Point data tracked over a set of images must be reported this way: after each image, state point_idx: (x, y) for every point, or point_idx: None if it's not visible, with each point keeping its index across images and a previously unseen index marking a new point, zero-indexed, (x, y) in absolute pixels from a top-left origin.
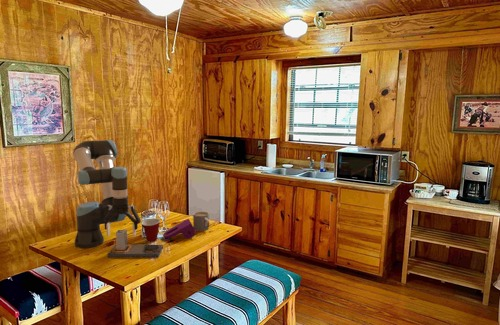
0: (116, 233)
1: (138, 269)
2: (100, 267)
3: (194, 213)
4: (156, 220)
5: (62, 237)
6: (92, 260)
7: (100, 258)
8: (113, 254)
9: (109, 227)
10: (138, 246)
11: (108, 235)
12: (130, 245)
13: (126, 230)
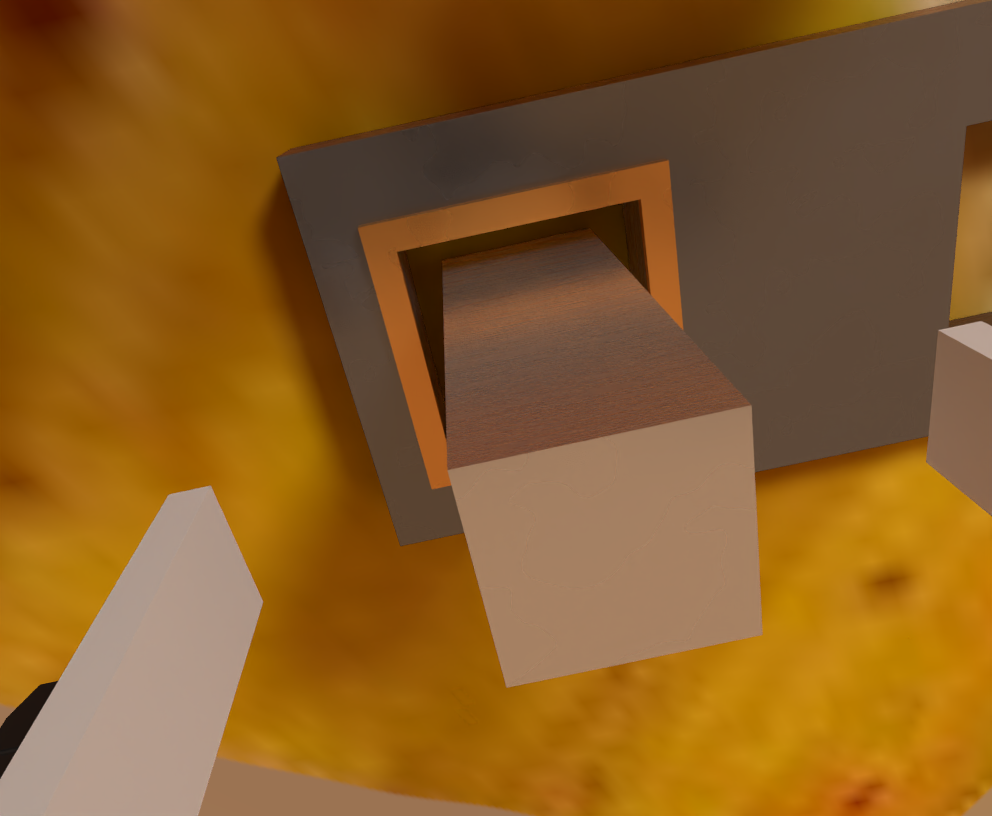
0: (523, 670)
1: (929, 675)
2: (481, 729)
3: None
4: None
5: None
6: None
7: (318, 555)
8: None
9: (143, 688)
10: (809, 148)
11: (258, 603)
12: (622, 132)
13: (753, 450)
